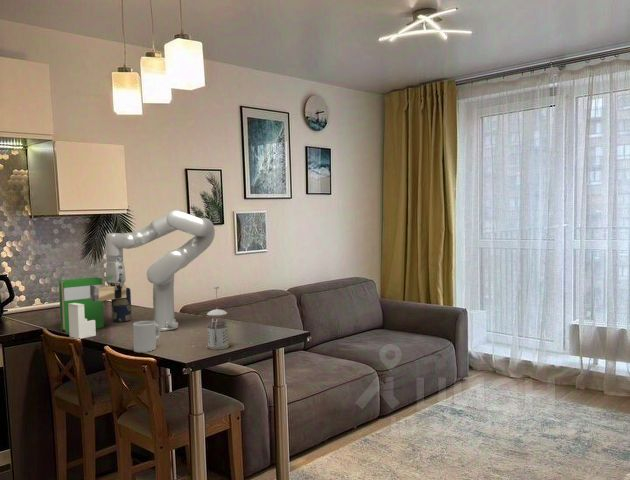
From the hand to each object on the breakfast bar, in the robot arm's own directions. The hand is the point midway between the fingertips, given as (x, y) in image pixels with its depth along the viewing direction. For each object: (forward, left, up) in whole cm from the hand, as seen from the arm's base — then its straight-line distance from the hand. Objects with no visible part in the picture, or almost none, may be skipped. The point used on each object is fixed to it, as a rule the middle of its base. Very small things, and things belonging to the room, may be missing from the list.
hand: (115, 297), depth 258 cm
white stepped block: (0, +18, -15) cm, 24 cm away
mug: (-46, +15, -16) cm, 51 cm away
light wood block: (0, +3, 0) cm, 4 cm away
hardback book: (+16, +8, -16) cm, 24 cm away
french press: (-68, -2, -16) cm, 70 cm away
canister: (+17, -14, -16) cm, 27 cm away
